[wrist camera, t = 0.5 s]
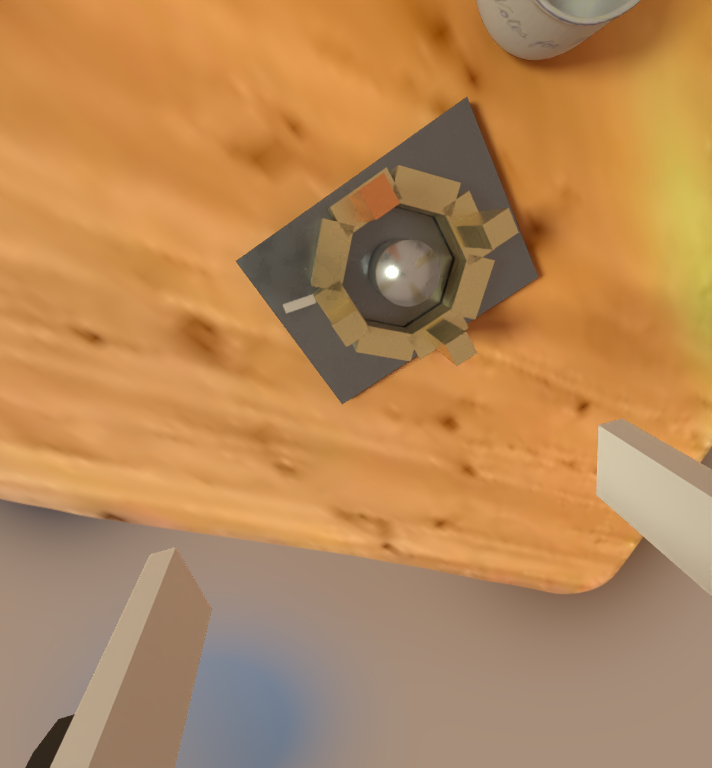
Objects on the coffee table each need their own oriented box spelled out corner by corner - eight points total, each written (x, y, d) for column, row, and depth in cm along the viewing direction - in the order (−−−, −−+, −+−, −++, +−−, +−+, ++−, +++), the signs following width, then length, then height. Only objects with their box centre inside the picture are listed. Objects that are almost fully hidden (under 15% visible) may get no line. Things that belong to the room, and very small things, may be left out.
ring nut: (279, 243, 30) (273, 246, 23) (430, 136, 29) (471, 106, 22) (370, 378, 36) (388, 412, 29) (501, 293, 34) (551, 308, 28)
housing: (238, 260, 32) (227, 265, 27) (459, 102, 30) (491, 76, 25) (340, 398, 38) (347, 423, 33) (529, 275, 36) (566, 282, 31)
